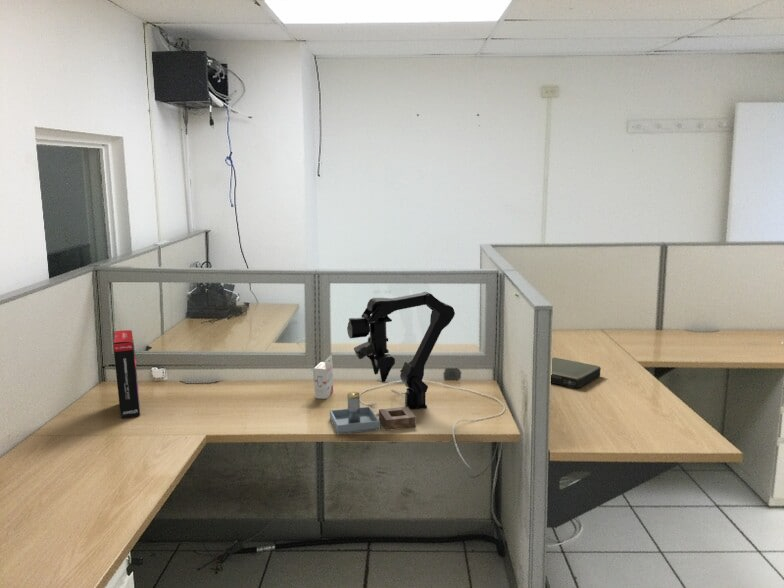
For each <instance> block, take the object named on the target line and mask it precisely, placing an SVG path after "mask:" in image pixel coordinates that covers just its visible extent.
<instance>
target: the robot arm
mask: <svg viewBox="0 0 784 588" xmlns="http://www.w3.org/2000/svg"><path fill="white" fill-rule="evenodd" d="M421 306H427V307H428V308H429V309H430V310H431V313H430V319H429V325H428V327H427V330H426V332H425V334H424V336H423V338H422V340H421V341H420V344H419V346H418V348H417V350H416V352H415V354H414V356H413V358H412V359H411V360H410V361H409V362H407V361H404V363H403V365H402V368H401V370H399V372H400V374H399V375H400V376H399V377H400V380H401V381H402V383H404V385H405V387H406V392H405V393H404V403H405V405H406V407H408V408H409V410H413V409H414V410H415V409H423V408H424V409H425V408H428V405H427V404H426V394H427V391H428V389H429V386H428V385H427V384H426V383H425V382H424V381H423V379H424V376H425V366H426V363H427V361H428V360H429V357H430V355H431V354H432V351H433V349H434V347H435V346H436V344H437V341H438V339H439V337H440V335H441V333H442V331H443V330H444V329H445V328H447V327H448V326H449V325H450V323H451V322H452V320H453V319H454V318H455V315H456V313H455V309H454V308H453V306H452V305H451V304H450V305H449V304H447V303H445V302H443V301H441V300H439V299H438V298H437V297H435V296H434V295H433V294H432V293H430V292H427V291H423V292H420V293H415V294H409V295H404V296H399V297H393V298H391V297H389V298H388V297H372V298H370V299H369V300H368V302H367V305H366V308H365V310H364V311H363V313H362V315H361V317H357V318H356V317H351V318H348V323H347V326H346V327H347V328H346V329H347V335H348V338H349V339H350V340H351V339H358V338H365V337H367V336H368V335H369V336H368V338H367V341H366V342H364V343H360V344H359V345H357V346H355V347H354V348H353V350H354V353H355V356H356V357H357V358H358V360H361V359H364V358H365V357H367V358H368V359H369V360H370V363H371V366H372V371H373V373H374V375H378V374H379V375H380V376H379V377H380V382H381V383H385V382H386V380H387V378H388V376H389V374H390V372H391V369H392V368H393V367H394V365H395V364H396V358H395V357H394V356H393V355H391V354H390V353H389V352H390V351H389V349H388V342H389V338H388V337H387V323H390V322H393V319H392V318H390V317H389V315H391V314H393V313H394V312H396V311H400V310H405V309H409V308H415V307H421Z"/></svg>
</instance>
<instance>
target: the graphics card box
mask: <svg viewBox="0 0 784 588" xmlns="http://www.w3.org/2000/svg"><path fill="white" fill-rule="evenodd" d="M133 335H134V334H133V330H131V329H130V330H129V329H128V330H124V329H123V330H113V332H112V346H113V347H112V348H113V356H114V366H115V376H116V385H117V386H116V387H117V395H118V404H119V412H120V418H121V419H125V418H132V417H133V418H134V417H140V416H141V405H140V392H139V381H138V371H137V362H136V352H135V344H134V342H135V341H134V336H133Z"/></svg>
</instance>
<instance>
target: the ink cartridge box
mask: <svg viewBox="0 0 784 588" xmlns="http://www.w3.org/2000/svg"><path fill="white" fill-rule="evenodd" d="M333 364H334V363H333V356H332V354H331V355H329V356H328V357H327V358H326V359H325V360H324V361H320V362H319V363H318V364H317V365H316V366H315V367H314V368H313V379H314V398H315V399H322V400H323V399H324V400H327V399H328V398H329V397H330V396H331V394H333V393H334V370H333V369H334V368H333V367H334V366H333Z"/></svg>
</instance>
